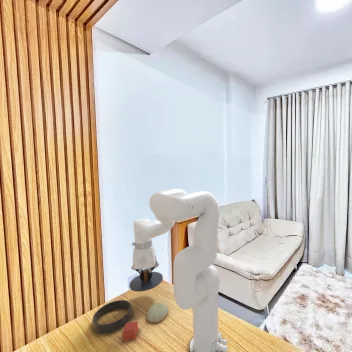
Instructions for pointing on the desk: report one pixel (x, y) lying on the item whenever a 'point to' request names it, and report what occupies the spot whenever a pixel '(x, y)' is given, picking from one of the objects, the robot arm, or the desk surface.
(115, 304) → the pot
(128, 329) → the block
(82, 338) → the desk surface
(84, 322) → the desk surface
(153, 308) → the sea urchin shell
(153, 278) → the pot lid
